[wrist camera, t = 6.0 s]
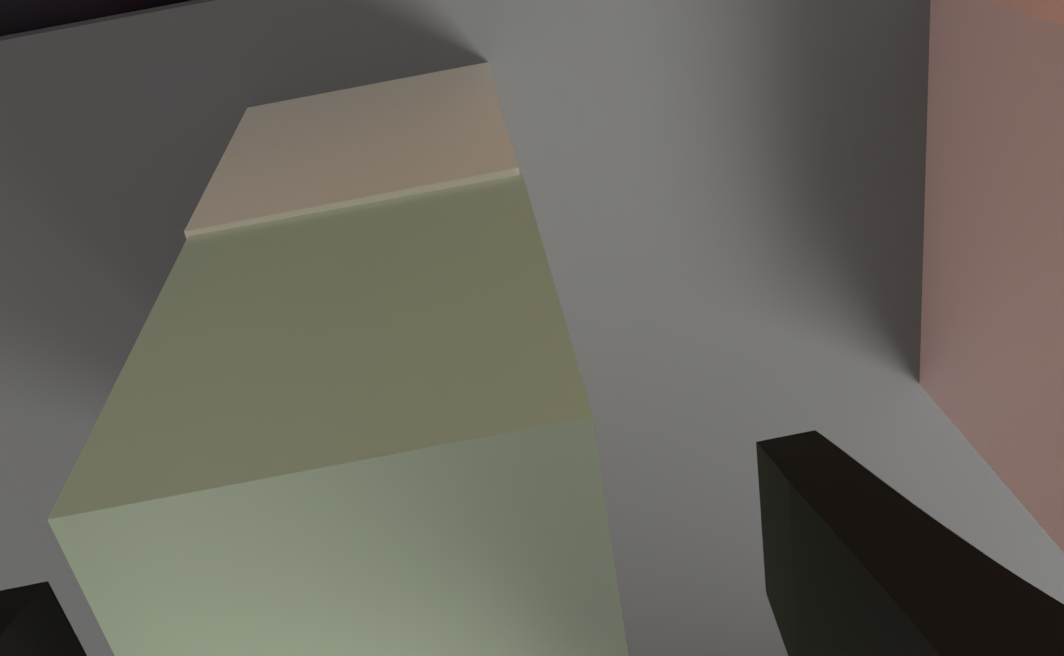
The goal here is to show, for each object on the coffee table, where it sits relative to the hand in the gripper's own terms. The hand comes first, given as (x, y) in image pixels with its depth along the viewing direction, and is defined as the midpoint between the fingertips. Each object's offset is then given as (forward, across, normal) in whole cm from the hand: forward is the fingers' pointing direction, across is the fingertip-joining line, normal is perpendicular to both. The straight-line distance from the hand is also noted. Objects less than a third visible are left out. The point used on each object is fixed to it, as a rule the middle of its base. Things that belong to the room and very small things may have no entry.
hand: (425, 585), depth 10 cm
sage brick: (+2, 0, 0) cm, 2 cm away
